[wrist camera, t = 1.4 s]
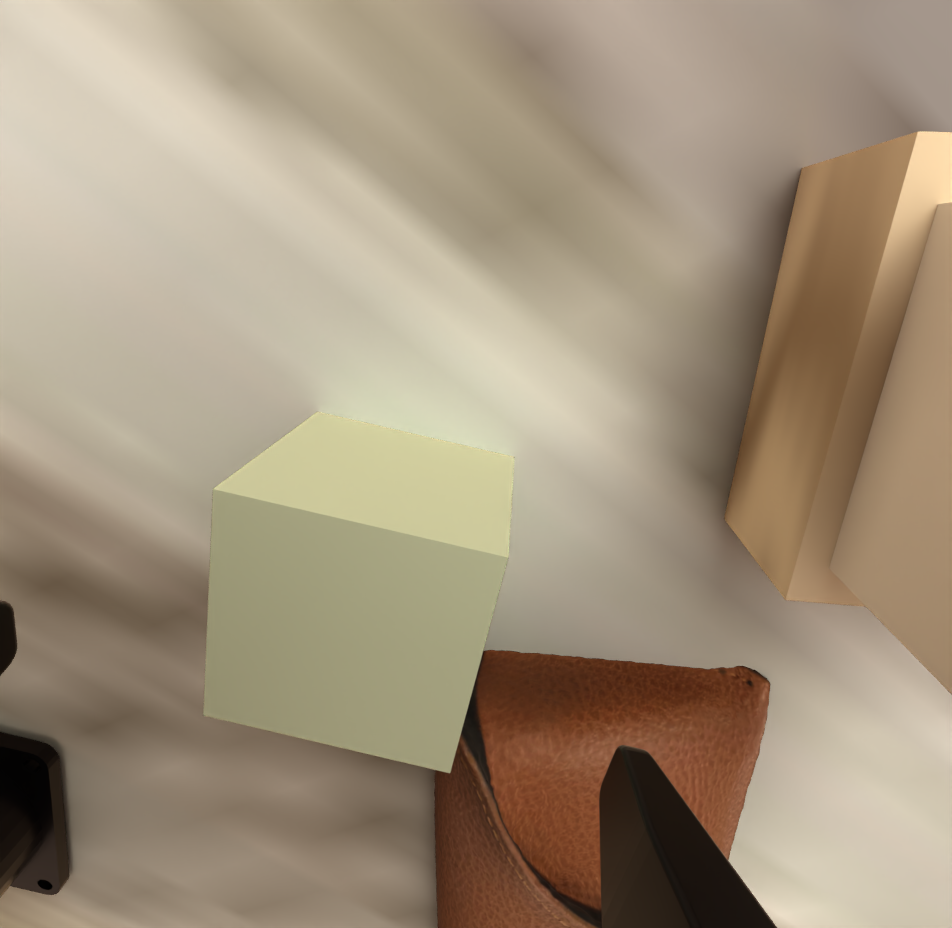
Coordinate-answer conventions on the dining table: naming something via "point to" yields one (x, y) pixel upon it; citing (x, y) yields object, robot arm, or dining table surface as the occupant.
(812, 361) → the tower base
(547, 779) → the sunglasses case
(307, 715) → the sage cube
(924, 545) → the tower mid
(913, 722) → the dining table surface
